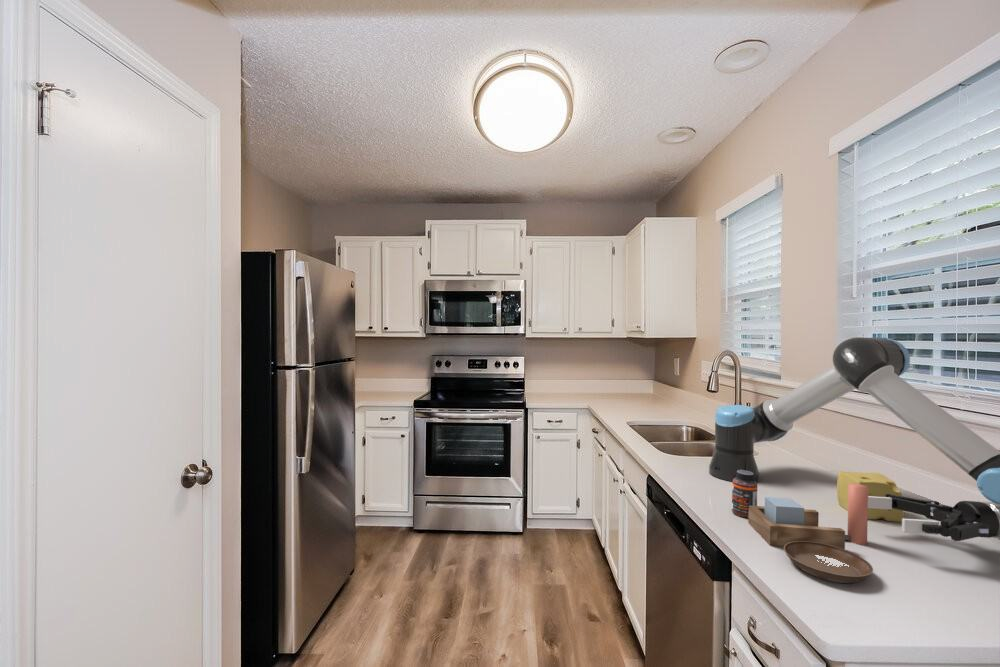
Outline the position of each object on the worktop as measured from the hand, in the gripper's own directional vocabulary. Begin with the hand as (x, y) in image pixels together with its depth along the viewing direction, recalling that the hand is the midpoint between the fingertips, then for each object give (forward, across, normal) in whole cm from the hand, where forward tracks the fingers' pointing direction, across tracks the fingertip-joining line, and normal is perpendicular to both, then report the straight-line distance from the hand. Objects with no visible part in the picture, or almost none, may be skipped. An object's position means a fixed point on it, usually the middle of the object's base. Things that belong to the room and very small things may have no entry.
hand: (880, 512), depth 103 cm
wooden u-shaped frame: (+17, +1, -7) cm, 19 cm away
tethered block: (+13, +1, -7) cm, 15 cm away
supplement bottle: (+25, +13, -8) cm, 29 cm away
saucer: (+19, -14, -8) cm, 25 cm away
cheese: (-10, +20, -8) cm, 23 cm away
